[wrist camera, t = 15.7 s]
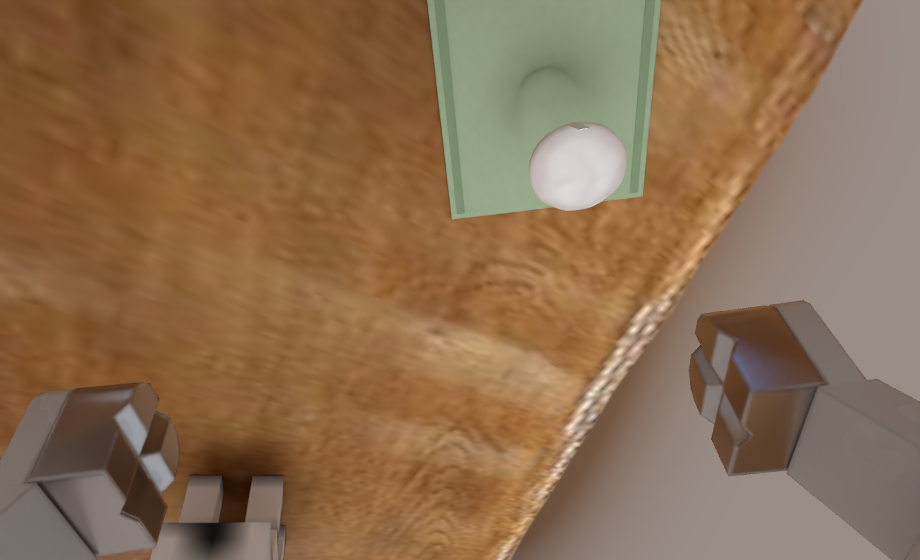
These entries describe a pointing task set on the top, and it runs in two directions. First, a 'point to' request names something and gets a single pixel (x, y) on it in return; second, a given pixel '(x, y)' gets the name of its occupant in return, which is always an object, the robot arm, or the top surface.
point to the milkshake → (567, 143)
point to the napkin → (505, 69)
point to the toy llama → (225, 524)
